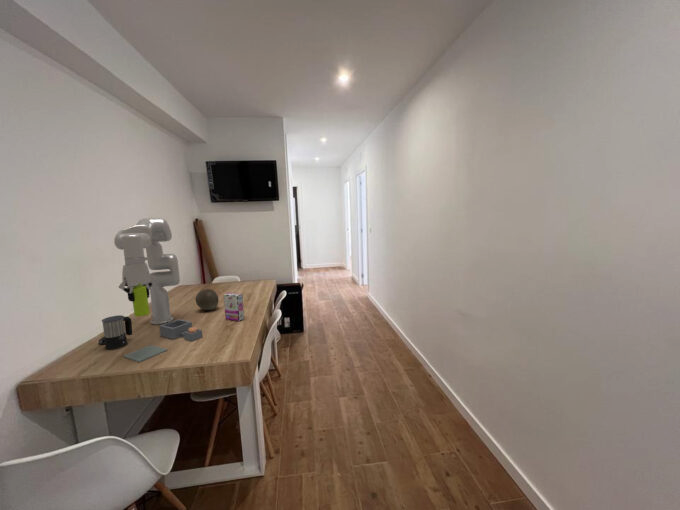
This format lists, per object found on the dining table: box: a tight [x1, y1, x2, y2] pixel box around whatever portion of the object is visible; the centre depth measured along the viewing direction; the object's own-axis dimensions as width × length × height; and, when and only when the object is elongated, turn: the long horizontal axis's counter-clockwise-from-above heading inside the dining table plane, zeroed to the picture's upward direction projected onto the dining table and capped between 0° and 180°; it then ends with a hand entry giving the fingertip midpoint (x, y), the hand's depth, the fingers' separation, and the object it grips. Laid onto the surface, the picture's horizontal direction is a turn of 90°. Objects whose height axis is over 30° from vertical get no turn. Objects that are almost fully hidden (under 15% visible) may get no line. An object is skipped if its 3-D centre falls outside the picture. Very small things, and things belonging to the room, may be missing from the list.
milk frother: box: [98, 314, 133, 351], centre depth 152 cm, size 14×16×15 cm
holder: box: [159, 318, 203, 342], centre depth 162 cm, size 23×11×6 cm, turn 63°
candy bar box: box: [223, 292, 245, 322], centre depth 186 cm, size 11×5×16 cm, turn 68°
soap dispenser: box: [132, 283, 150, 318], centre depth 137 cm, size 6×7×20 cm
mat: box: [122, 344, 168, 363], centre depth 141 cm, size 13×13×1 cm
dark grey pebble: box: [195, 288, 219, 311], centre depth 206 cm, size 14×14×15 cm
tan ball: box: [188, 326, 198, 333], centre depth 158 cm, size 4×4×3 cm
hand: (139, 298), depth 138 cm, fingers closed on soap dispenser, 5 cm apart
